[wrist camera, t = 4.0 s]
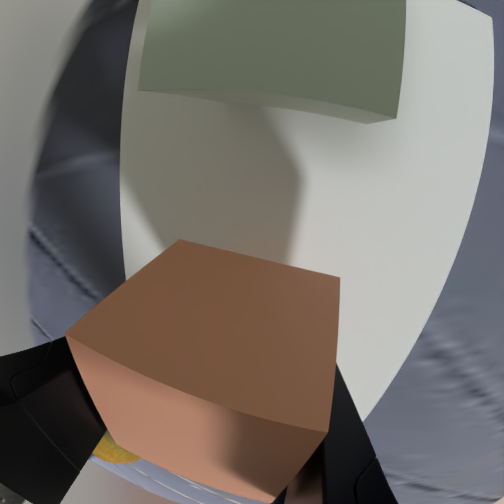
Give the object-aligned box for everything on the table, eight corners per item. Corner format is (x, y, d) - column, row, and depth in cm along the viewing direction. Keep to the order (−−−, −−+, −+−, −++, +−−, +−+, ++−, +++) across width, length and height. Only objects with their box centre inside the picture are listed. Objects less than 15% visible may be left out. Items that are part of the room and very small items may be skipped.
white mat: (333, 450, 15) (332, 457, 15) (153, 397, 18) (149, 402, 17) (485, 21, 5) (491, 17, 4) (152, -17, 7) (144, -22, 7)
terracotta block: (301, 386, 9) (270, 503, 5) (181, 350, 10) (116, 444, 6) (340, 277, 7) (328, 432, 3) (179, 238, 8) (64, 333, 4)
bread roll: (156, 448, 24) (140, 476, 20) (127, 451, 28) (113, 472, 24) (93, 397, 23) (72, 424, 19) (77, 409, 27) (60, 430, 23)
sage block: (366, 124, 8) (396, 118, 4) (223, 102, 8) (137, 90, 4) (378, 0, 6) (400, -78, 2) (240, -13, 6) (176, -80, 3)
